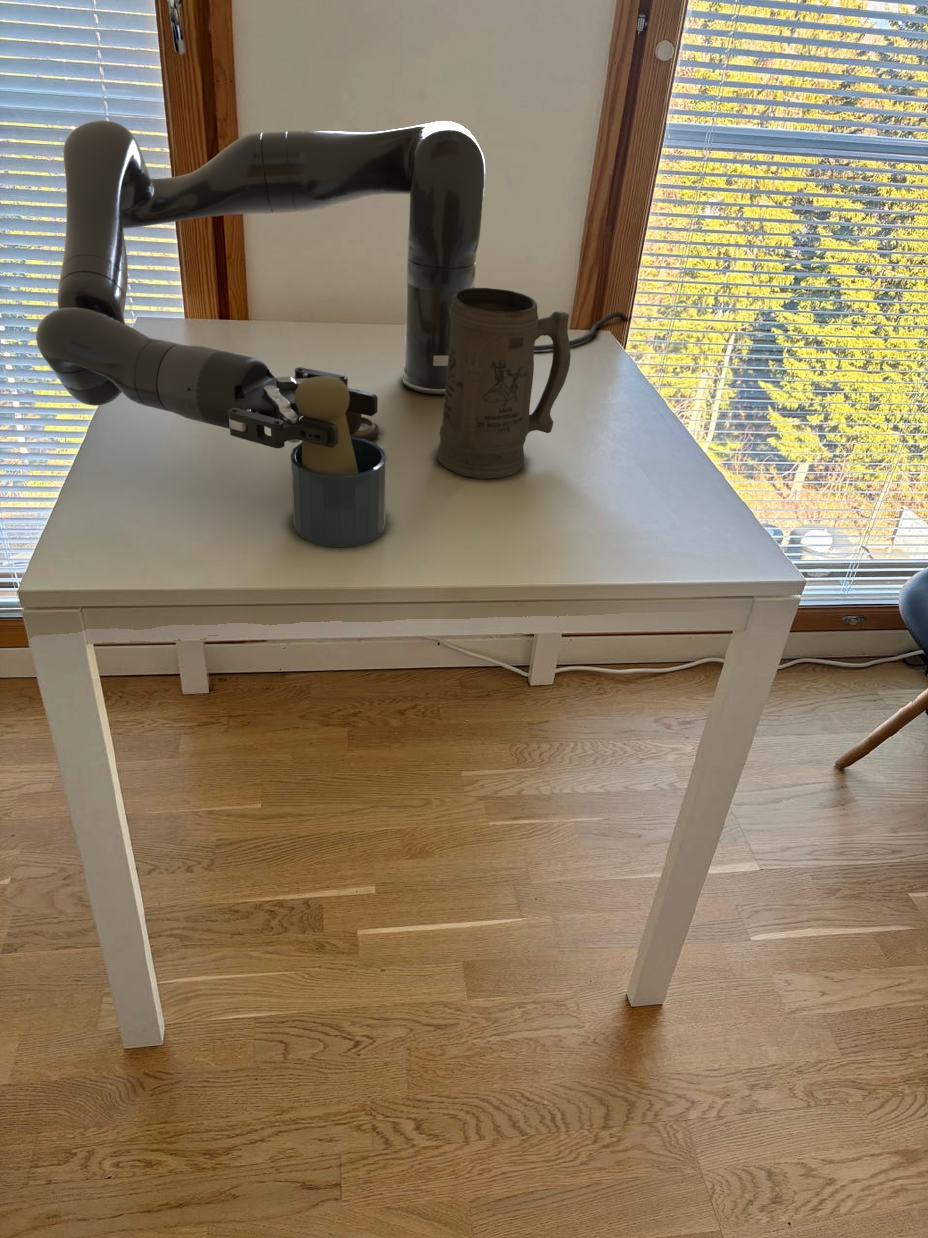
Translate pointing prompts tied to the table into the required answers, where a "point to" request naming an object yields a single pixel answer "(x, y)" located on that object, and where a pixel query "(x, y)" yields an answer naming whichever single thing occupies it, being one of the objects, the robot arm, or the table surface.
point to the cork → (327, 404)
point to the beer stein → (496, 380)
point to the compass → (361, 426)
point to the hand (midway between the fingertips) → (357, 420)
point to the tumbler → (341, 499)
